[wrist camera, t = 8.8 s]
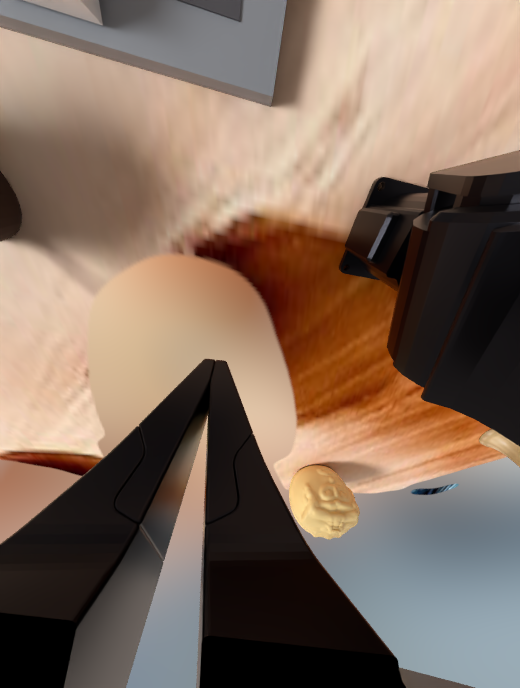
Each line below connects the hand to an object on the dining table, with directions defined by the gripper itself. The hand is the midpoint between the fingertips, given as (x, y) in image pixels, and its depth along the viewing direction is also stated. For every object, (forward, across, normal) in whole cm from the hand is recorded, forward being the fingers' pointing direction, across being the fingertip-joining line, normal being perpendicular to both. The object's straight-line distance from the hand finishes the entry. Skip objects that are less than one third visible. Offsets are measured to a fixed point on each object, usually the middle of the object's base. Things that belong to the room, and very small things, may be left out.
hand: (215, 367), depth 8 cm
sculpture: (+12, -21, +40) cm, 47 cm away
